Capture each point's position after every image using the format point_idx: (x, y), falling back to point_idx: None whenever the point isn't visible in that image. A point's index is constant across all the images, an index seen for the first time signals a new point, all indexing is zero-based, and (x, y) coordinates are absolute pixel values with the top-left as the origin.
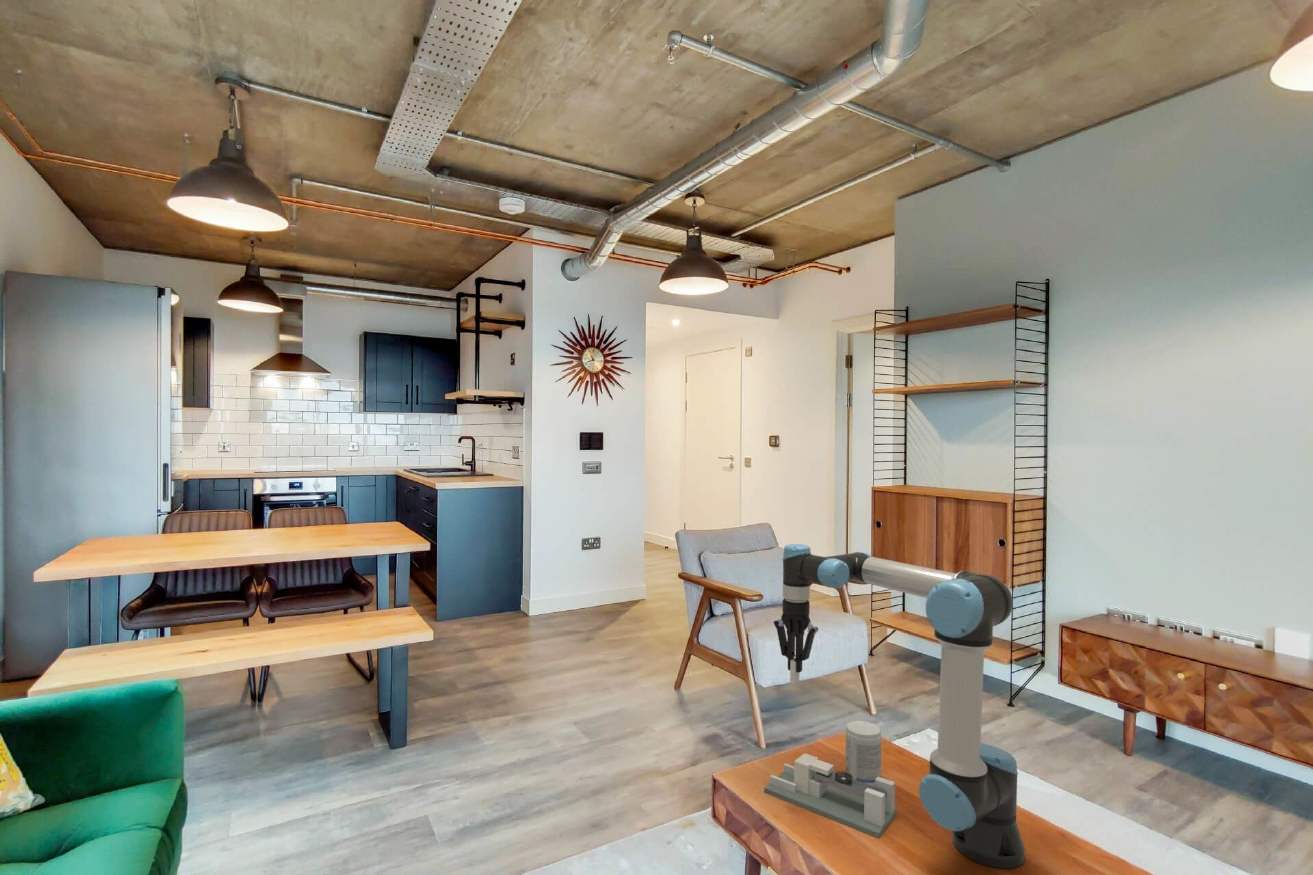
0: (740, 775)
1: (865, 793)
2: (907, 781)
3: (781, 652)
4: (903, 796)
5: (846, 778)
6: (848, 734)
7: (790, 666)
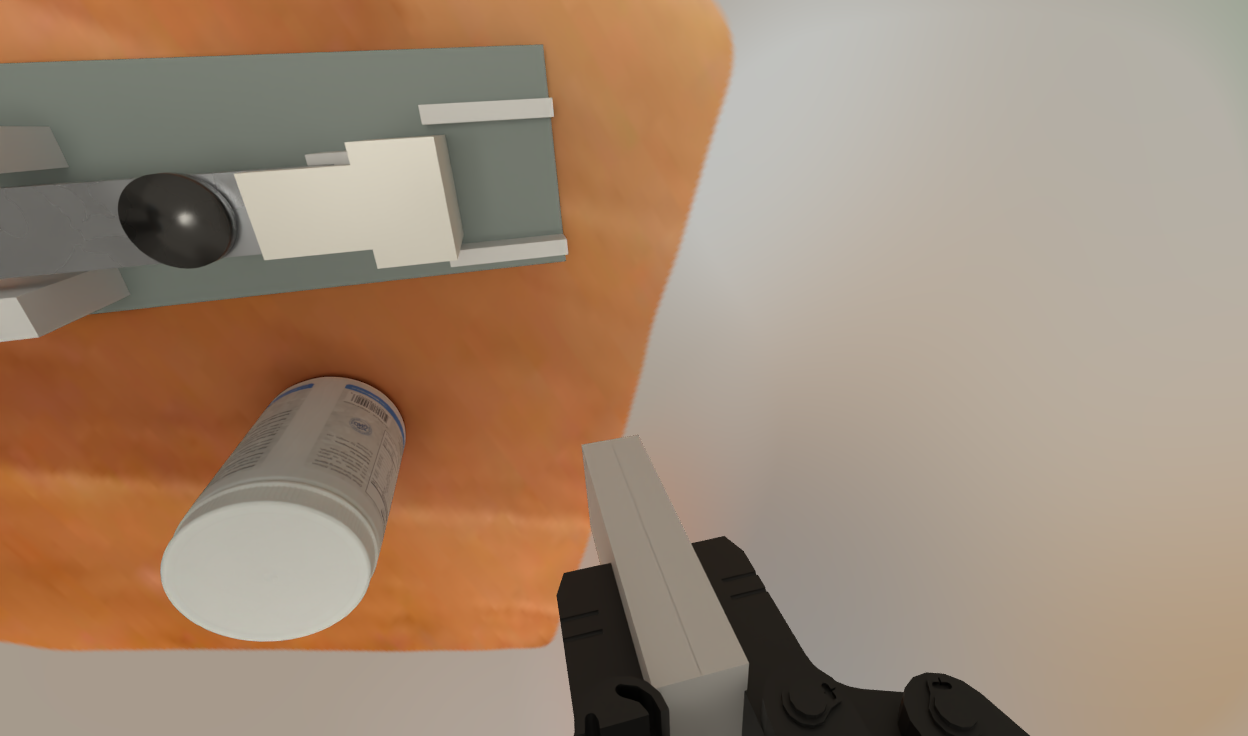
0: (687, 100)
1: None
2: None
3: (999, 714)
4: (158, 441)
5: (141, 207)
6: (314, 487)
7: (704, 573)
